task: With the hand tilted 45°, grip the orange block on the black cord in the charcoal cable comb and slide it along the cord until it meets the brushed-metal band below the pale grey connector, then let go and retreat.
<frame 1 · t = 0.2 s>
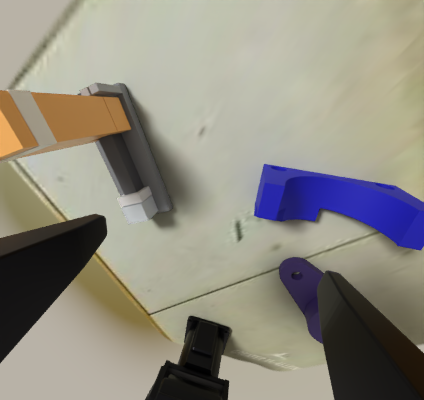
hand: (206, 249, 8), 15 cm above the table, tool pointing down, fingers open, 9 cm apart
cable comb: (128, 152, 24), on the table
lever: (315, 289, 26), on the table
orange block: (61, 124, 17), point 7 cm above the table, slide at 0.0 cm
cable clip: (318, 194, 22), on the table
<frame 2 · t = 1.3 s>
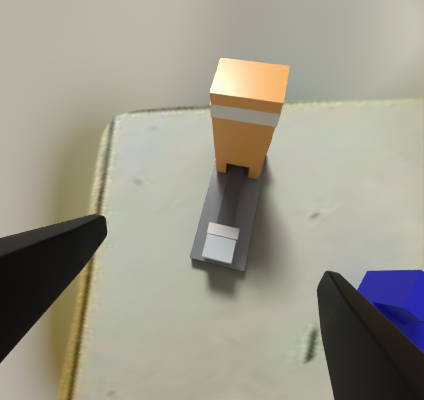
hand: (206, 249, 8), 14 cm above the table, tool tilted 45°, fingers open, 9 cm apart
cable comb: (232, 196, 23), on the table
orange block: (243, 132, 18), point 7 cm above the table, slide at 0.0 cm
cable clip: (420, 336, 19), on the table
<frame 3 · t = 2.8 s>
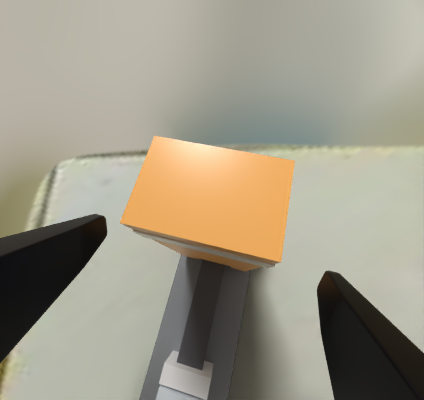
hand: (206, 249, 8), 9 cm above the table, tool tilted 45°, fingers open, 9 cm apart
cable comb: (209, 290, 16), on the table
orange block: (216, 229, 11), point 7 cm above the table, slide at 0.0 cm
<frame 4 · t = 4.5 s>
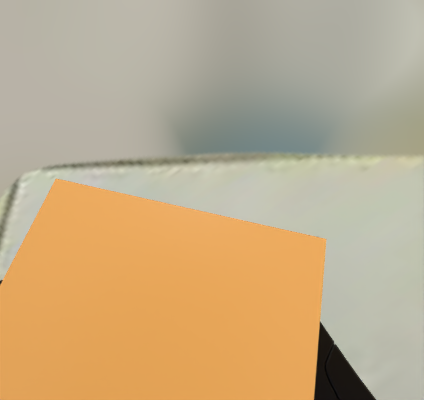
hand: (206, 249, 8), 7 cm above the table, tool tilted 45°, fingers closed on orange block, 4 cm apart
orange block: (197, 286, 8), point 7 cm above the table, slide at 0.0 cm, touching gripper
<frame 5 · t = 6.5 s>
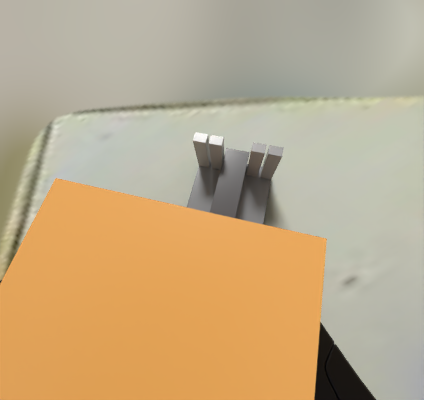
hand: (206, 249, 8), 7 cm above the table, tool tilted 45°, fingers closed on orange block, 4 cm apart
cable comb: (217, 244, 15), on the table
orange block: (197, 286, 8), point 7 cm above the table, slide at 5.9 cm, touching gripper
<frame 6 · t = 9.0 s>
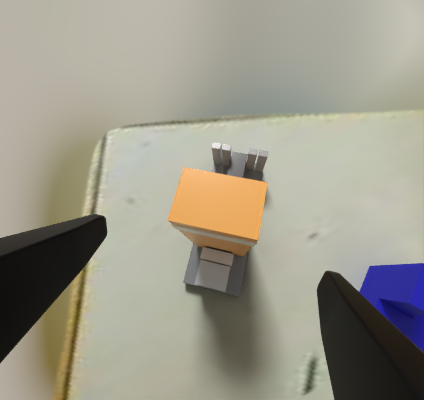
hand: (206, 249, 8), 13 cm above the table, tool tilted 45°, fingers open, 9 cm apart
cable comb: (227, 215, 23), on the table
orange block: (221, 224, 16), point 7 cm above the table, slide at 6.0 cm
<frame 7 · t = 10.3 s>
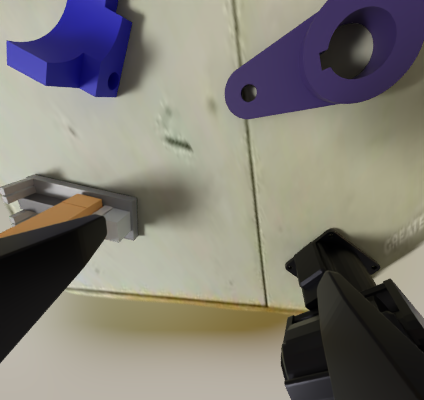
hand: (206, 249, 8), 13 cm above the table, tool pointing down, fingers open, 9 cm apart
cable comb: (82, 204, 26), on the table
lever: (301, 72, 16), on the table
orange block: (52, 240, 20), point 7 cm above the table, slide at 6.0 cm
cable clip: (110, 10, 17), on the table
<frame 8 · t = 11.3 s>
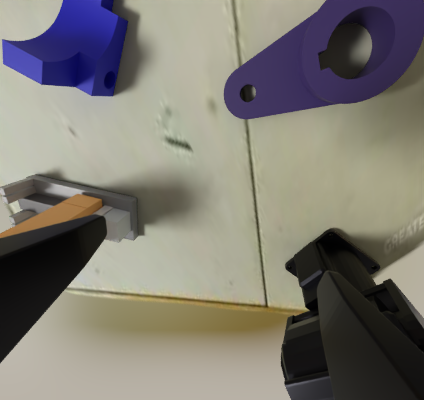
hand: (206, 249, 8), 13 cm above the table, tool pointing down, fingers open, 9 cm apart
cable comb: (82, 204, 26), on the table
lever: (300, 72, 16), on the table
orange block: (52, 240, 20), point 7 cm above the table, slide at 6.0 cm
cable clip: (106, 9, 17), on the table
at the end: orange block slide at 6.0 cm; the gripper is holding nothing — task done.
